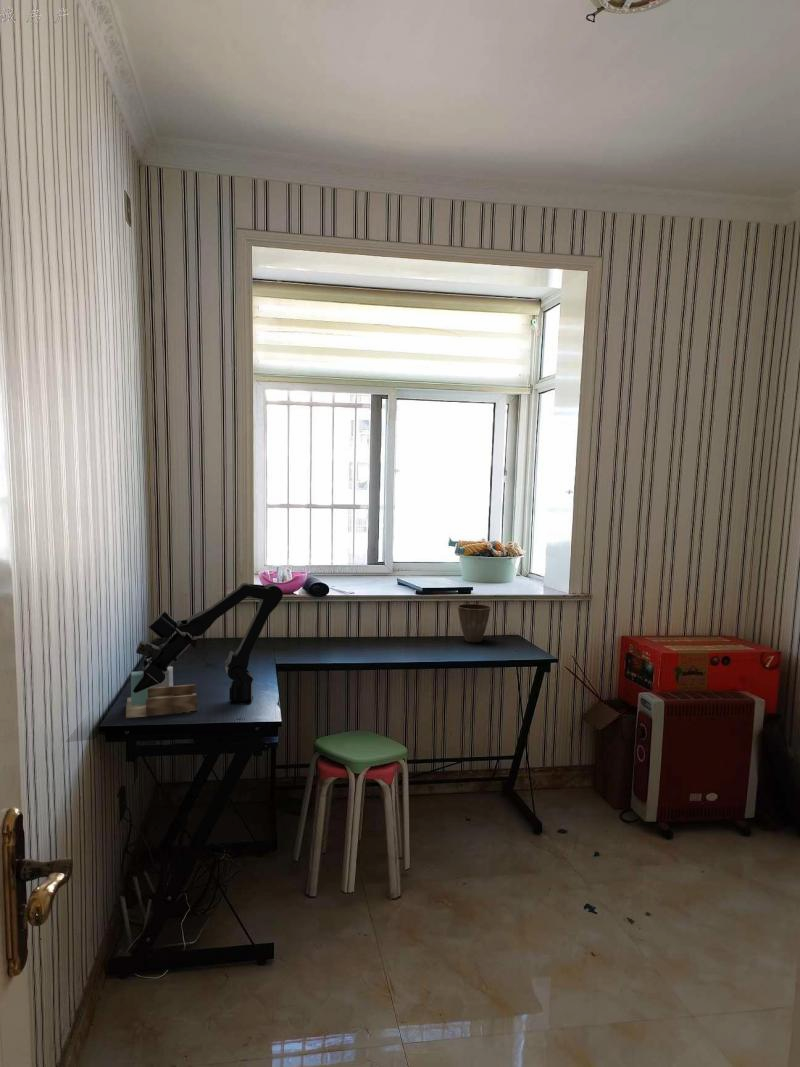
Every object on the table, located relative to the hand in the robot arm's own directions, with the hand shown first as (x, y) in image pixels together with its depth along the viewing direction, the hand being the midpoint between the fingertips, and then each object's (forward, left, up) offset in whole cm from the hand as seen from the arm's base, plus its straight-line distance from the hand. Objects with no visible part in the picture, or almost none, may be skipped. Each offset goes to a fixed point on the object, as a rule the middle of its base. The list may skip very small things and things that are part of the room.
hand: (134, 687), depth 198 cm
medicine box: (-3, -17, -7) cm, 19 cm away
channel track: (-7, -2, -7) cm, 10 cm away
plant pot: (-124, -93, -7) cm, 155 cm away
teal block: (-1, 0, -5) cm, 5 cm away
